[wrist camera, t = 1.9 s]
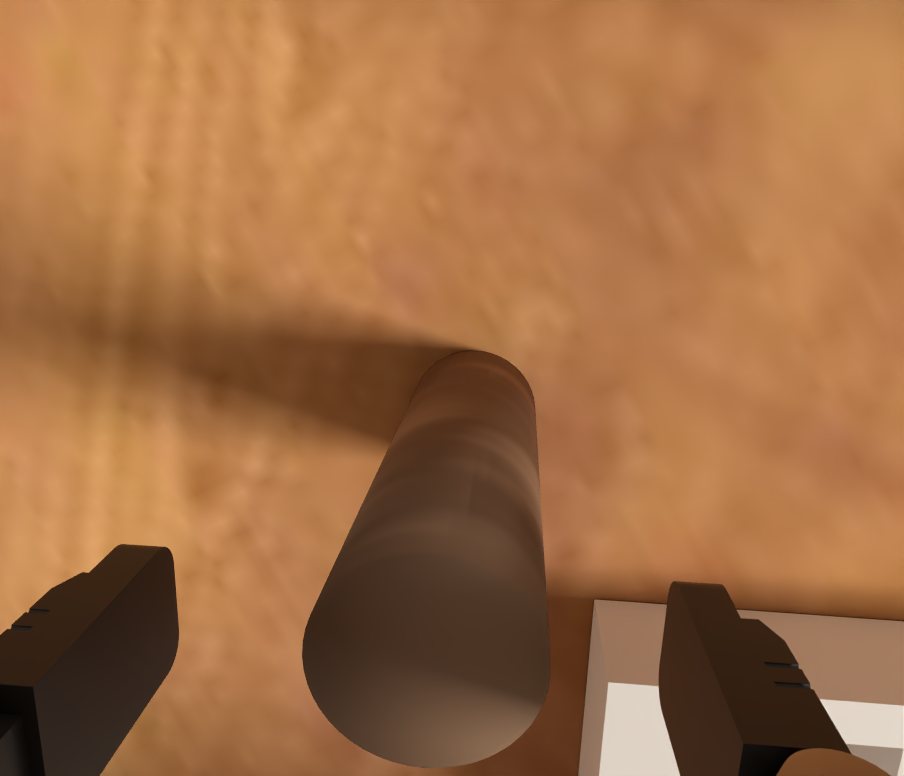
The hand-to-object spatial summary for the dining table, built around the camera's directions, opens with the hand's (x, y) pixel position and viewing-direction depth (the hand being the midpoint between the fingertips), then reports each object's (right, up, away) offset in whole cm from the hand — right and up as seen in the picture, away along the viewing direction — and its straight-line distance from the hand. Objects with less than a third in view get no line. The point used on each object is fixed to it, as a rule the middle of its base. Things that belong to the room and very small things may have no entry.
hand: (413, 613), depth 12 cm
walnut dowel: (+1, +3, +10) cm, 11 cm away
